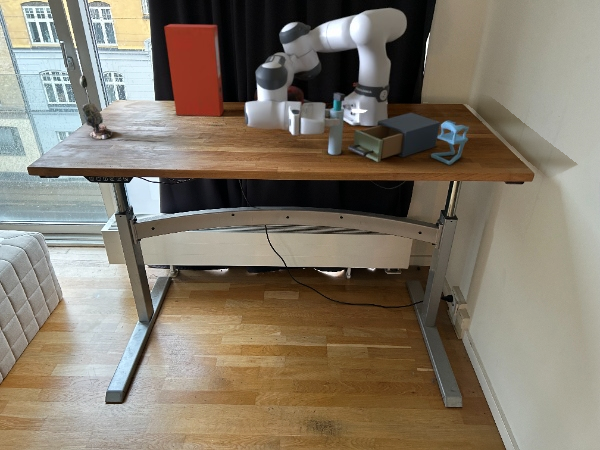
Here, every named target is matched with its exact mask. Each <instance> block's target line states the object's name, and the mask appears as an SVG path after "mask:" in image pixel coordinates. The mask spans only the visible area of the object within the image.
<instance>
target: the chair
mask: <svg viewBox="0 0 600 450" xmlns="http://www.w3.org/2000/svg"><path fill="white" fill-rule="evenodd" d="M456 123H457V122H456V121H453V120H445V121H444V122H442V123H440V129H441V130H440V131H441V132H440V134H438V137H437V140H438V139H439V140H441V141H445V142H447V144H448V146H449V148H450V149H449V150H450V151H444V152H433V153H430V157H431V158H432V159H435V160H437V161H439V162H442V163H444V164H446V165H448V166H450V165H452V164H453V163H454V162H456V161H457V160H459V159H460V158H461V156H462V153H463V150H464V147H465V144H466V142H467V141H468V140H469V137H467V136H466V135H467V132H468V131H469V129H470V127H469V126H466V125H464V124H459V125H456ZM445 130H449V131H450V132H447V133H445ZM463 130H464V132H463V133H462V135H460V134H458V133H459V132H461V131H463ZM454 145H459V148H458V151H457V154H455V153H456V151H455V148H454ZM447 156H453V157H452V158H451V159H450V160H448V159H446V158H443V157H447Z"/></svg>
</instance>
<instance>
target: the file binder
mask: <svg viewBox="0 0 600 450" xmlns="http://www.w3.org/2000/svg"><path fill="white" fill-rule="evenodd" d="M164 34H165V43H166V48H167V57H168V63H169V64H168V65H169V70H170V80H171V86H172V93H173V99H174V101H173V102H174V108H175V114H176V116H199V117H200V116H202V117H205V116H206V117H208V116H209V117H221V116H222V114H223V113H224V111H225V110H224V97H223V85H222V72H221V70H222V69H221V58H220V46H219V31H218V25H217V24H188V23H187V24H186V23H185V24H183V23H181V24H179V23H169V24H168V25H165V26H164Z"/></svg>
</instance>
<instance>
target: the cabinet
mask: <svg viewBox="0 0 600 450" xmlns="http://www.w3.org/2000/svg"><path fill="white" fill-rule="evenodd" d="M379 125H384V126H386V127H389V128H392V129H394V130H397V131H399V132H402V133H405V134H404V140H403V147H402V152H401V153H398V154H395V155H397V156H398V157H401V158H404V157H407V156H411V155H414V154H417V153H420V152H423V151H426V150H429V149H432V148H435V147H436V146H437V141H438V138H437V137H438V135H439V132H440V127H441V122H440V121H437V120H434V119H431V118H428V117H425V116H423V115H419V114H417V113H414V112H408V113H404V114H400V115H397V116H393V117H388V119H385V120H381V121H378V124H377V126H379Z"/></svg>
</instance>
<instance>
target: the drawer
mask: <svg viewBox="0 0 600 450" xmlns="http://www.w3.org/2000/svg"><path fill="white" fill-rule="evenodd" d="M404 134H405V133H402V132H399V131H397V130H394V129H392V128H389V127H386V126H384V125H379V126H370V127H368V128H364V129H361V130H359V129H355V130H354V136H353V145H351V144H349V145H348V146H347V149H348V150H349V151H351V152H353V153H355V154H357V155H359V156H362V157H364V158H369V159H371V160H373V161H375V162H377V163H378V162H381V161H382V160H381V159H385V158H388V157H391V156H395V155H396V154H398V153H401V152H402V147H403V140H404Z"/></svg>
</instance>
